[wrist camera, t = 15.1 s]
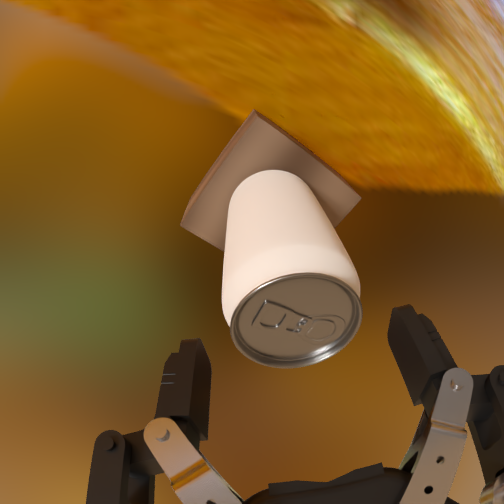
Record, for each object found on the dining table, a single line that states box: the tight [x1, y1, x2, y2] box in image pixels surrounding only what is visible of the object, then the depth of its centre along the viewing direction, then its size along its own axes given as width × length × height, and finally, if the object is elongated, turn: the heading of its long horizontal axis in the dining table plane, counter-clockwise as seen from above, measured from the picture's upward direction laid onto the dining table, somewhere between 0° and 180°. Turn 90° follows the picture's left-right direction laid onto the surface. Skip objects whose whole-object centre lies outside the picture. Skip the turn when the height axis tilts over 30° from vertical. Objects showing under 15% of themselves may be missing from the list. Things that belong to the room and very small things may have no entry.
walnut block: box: [180, 110, 361, 252], centre depth 25 cm, size 10×10×6 cm
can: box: [222, 170, 362, 368], centre depth 17 cm, size 6×6×12 cm
